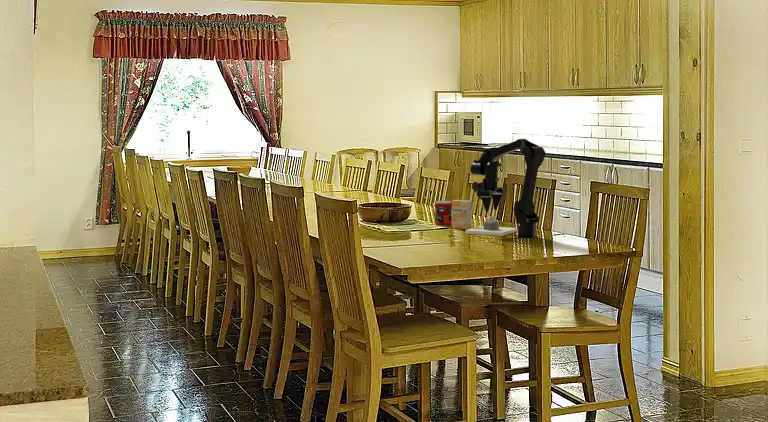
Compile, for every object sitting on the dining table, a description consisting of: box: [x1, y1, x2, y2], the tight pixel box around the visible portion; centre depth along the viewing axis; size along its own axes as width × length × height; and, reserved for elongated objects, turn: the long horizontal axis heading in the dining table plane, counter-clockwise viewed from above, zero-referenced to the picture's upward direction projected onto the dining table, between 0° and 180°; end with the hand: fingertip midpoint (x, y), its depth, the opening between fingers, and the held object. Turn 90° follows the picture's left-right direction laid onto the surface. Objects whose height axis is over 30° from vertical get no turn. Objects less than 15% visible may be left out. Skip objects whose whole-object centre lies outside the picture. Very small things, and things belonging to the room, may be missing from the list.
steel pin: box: [486, 216, 496, 223], centre depth 424 cm, size 4×4×6 cm
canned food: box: [434, 200, 452, 226], centre depth 454 cm, size 8×8×11 cm
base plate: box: [464, 225, 518, 237], centre depth 425 cm, size 18×16×2 cm
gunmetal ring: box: [482, 221, 500, 230], centre depth 425 cm, size 7×7×3 cm
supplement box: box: [451, 199, 473, 230], centre depth 439 cm, size 8×5×13 cm, turn 62°
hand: (491, 210), depth 424 cm, fingers open, 9 cm apart
